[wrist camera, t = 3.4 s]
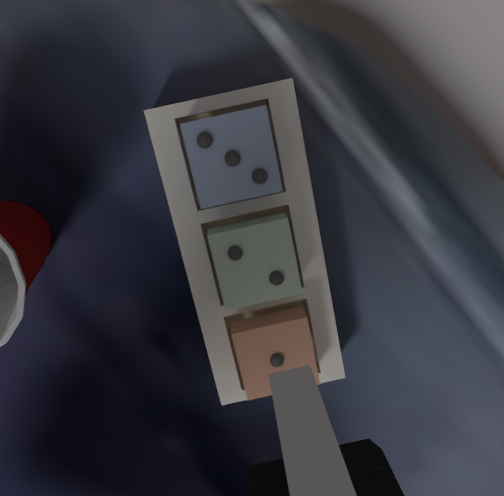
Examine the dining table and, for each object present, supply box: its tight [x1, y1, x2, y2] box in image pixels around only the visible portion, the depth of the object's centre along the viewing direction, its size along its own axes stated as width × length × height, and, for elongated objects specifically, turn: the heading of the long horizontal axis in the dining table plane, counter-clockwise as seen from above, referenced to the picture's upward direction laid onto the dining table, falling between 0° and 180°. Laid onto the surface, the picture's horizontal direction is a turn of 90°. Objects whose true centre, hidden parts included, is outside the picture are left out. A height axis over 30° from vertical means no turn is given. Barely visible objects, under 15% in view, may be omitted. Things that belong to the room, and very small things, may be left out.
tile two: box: [207, 213, 303, 310], centre depth 35 cm, size 6×6×2 cm
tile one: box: [231, 307, 320, 400], centre depth 37 cm, size 6×6×2 cm
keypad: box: [144, 78, 345, 406], centre depth 38 cm, size 11×25×3 cm, turn 12°
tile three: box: [180, 105, 283, 209], centre depth 33 cm, size 6×6×2 cm
